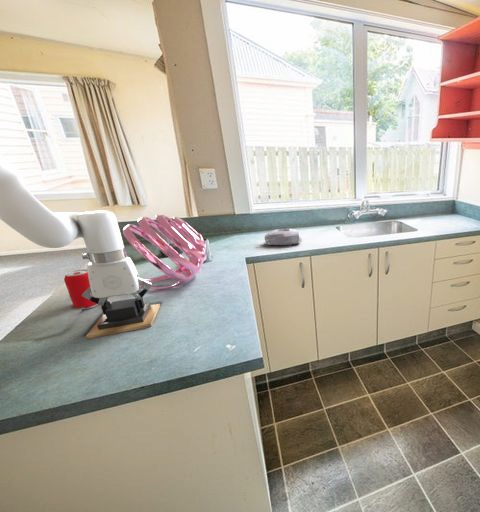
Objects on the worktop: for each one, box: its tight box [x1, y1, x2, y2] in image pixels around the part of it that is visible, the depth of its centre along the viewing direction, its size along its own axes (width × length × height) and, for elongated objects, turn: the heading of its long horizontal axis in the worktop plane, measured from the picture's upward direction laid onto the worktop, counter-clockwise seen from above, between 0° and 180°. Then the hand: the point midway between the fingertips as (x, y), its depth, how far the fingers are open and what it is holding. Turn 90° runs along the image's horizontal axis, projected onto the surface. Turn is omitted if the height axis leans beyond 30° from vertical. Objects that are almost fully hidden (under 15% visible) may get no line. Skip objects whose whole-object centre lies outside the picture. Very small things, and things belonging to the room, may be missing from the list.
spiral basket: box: [122, 214, 207, 291], centre depth 111 cm, size 28×28×27 cm
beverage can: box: [63, 269, 99, 311], centre depth 95 cm, size 6×6×12 cm
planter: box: [198, 238, 213, 263], centre depth 139 cm, size 4×4×10 cm
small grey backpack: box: [263, 228, 301, 246], centre depth 171 cm, size 15×8×20 cm
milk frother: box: [153, 227, 190, 258], centre depth 151 cm, size 14×16×15 cm
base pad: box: [86, 303, 161, 340], centre depth 88 cm, size 14×14×2 cm
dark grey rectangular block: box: [105, 297, 140, 322], centre depth 87 cm, size 6×6×4 cm
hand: (125, 312), depth 88 cm, fingers closed on dark grey rectangular block, 6 cm apart
